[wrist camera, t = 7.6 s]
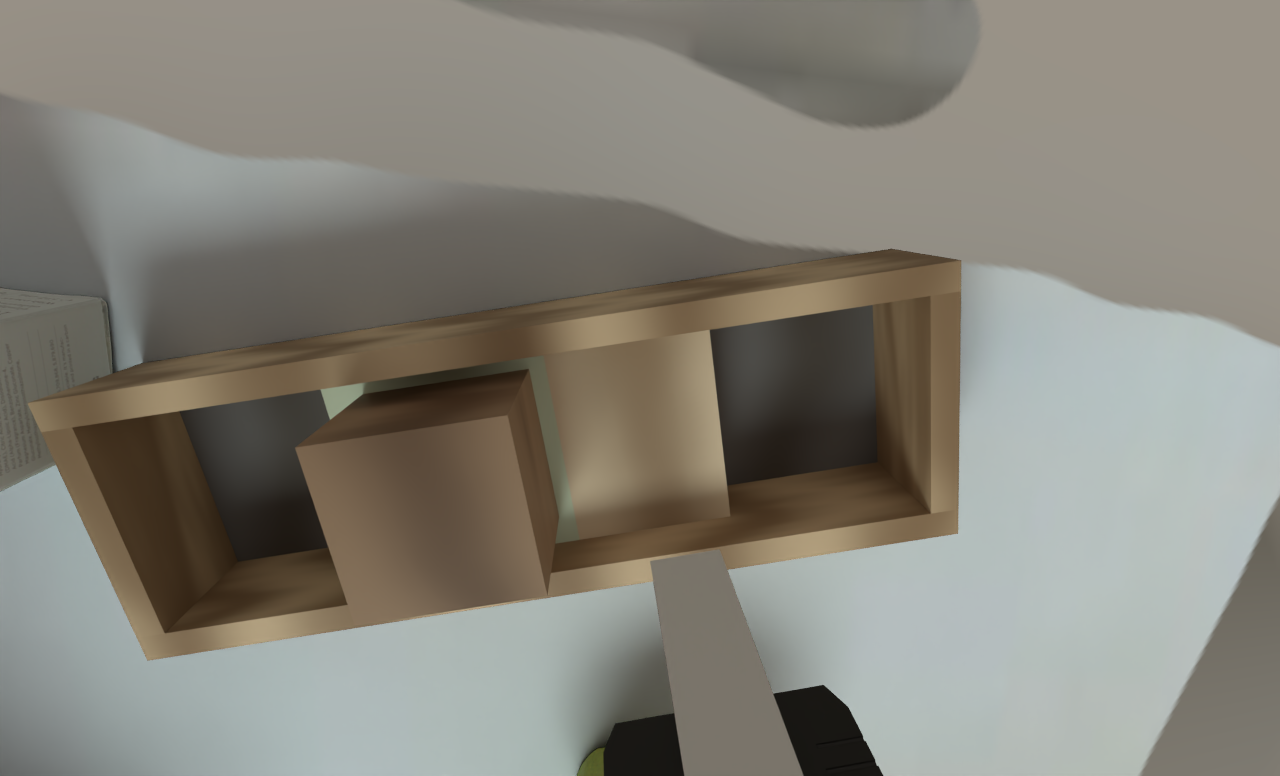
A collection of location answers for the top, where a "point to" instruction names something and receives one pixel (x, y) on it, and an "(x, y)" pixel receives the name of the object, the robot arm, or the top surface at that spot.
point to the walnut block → (435, 497)
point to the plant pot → (593, 764)
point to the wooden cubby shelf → (572, 432)
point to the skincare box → (43, 367)
